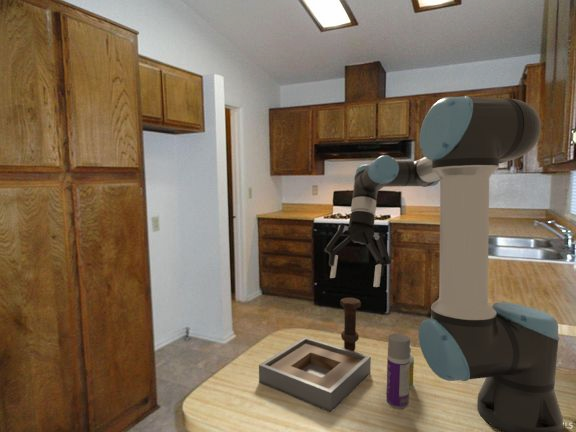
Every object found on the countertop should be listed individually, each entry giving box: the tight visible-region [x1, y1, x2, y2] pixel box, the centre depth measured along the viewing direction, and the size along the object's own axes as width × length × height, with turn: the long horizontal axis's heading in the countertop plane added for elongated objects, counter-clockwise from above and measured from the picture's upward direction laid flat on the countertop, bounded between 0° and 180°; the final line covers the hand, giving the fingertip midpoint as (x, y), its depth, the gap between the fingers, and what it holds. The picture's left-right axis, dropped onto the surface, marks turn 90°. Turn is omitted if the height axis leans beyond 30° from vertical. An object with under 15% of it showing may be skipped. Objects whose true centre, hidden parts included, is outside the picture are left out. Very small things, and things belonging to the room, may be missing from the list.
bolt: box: [339, 297, 362, 352], centre depth 108 cm, size 6×5×15 cm
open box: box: [258, 336, 372, 413], centre depth 94 cm, size 20×20×4 cm
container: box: [385, 332, 411, 410], centre depth 83 cm, size 5×5×15 cm
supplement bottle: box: [409, 344, 415, 389], centre depth 91 cm, size 5×5×10 cm
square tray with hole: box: [270, 343, 361, 389], centre depth 94 cm, size 18×18×3 cm
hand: (354, 282), depth 111 cm, fingers open, 13 cm apart
